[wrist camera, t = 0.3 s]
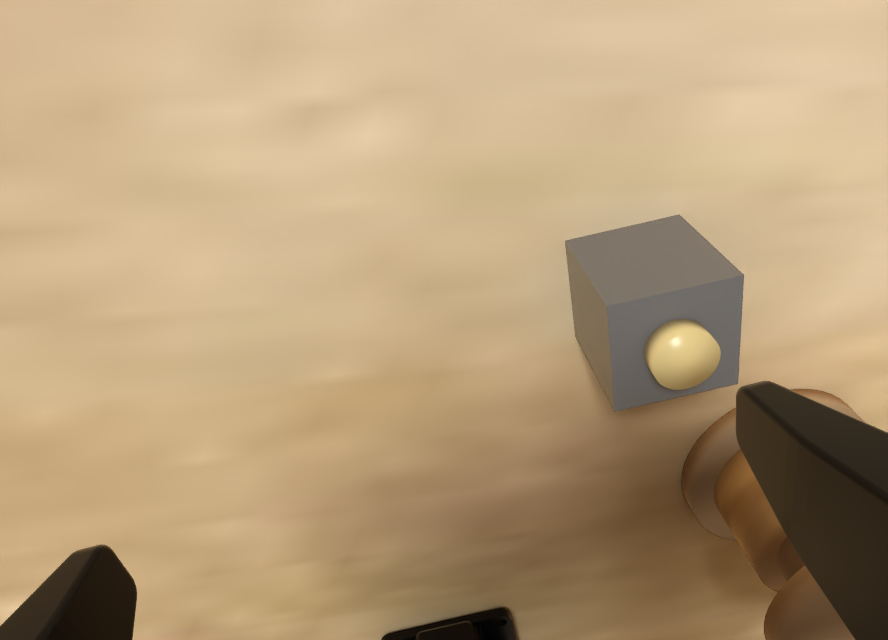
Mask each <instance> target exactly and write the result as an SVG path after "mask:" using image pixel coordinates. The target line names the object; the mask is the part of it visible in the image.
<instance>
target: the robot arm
mask: <svg viewBox="0 0 888 640" xmlns="http://www.w3.org/2000/svg"><path fill="white" fill-rule="evenodd" d="M736 438H737V441H738V444H739V447H740V449H741V451H742V453H743V455H744V457H745V458H746V460H747V462H748V464H749V466H750V468H751V470H752V472H753V474H754V476H755V477H756V479H757V481H758V483H759V485H760V487H761V489H762V491H763V493H764V495H765V497H766V498H767V500H768V502H769V504H770V506H771V508H772V510H773V512H774V514H775V516H776V517H777V519H778V521H779V523H780V525H781V527H782V529H783V531H784V532H785V534H786V536H787V538H788V539H789V541H790V543H791V545H792V546H793V548H794V549H795V551H796V553H797V554H798V556H799V557H800V559H801V560H802V562H803V563H804V565H805V566H806V568H807V569H808V571H809V572H810V574H811V575H812V577H813V578H814V580H815V581H816V582H817V584H818V585H819V587H820V588H821V590H822V591H823V593H824V594H825V596H826V597H827V599H828V600H829V602H830V603H831V605H832V606H833V608H834V609H835V611H836V612H837V613H838V615H839V616H840V618H841V619H842V621H843V622H844V624H845V625H846V627H847V628H848V630H849V631H850V633H851V634H852V636H853V637H854V639H855V640H888V433H887V432H885V431H883V430H880V429H878V428H876V427H874V426H871V425H869V424H867V423H864V422H862V421H860V420H858V419H855V418H853V417H851V416H848V415H846V414H844V413H842V412H839V411H837V410H835V409H833V408H830V407H828V406H826V405H823V404H821V403H819V402H817V401H814V400H812V399H810V398H807V397H805V396H803V395H801V394H798V393H796V392H794V391H791V390H789V389H787V388H785V387H782V386H780V385H778V384H776V383H773V382H770V381H762V382H758V383H754V384H750V385H746V386H743V387H741V388H739V389H738V391H737V395H736ZM136 601H137V590H136V585H135V582H134V580H133V578H132V577H131V575H130V574H129V572H128V571H127V570H126V568H125V567H124V566H123V564H122V563H121V561H120V560H119V559H118V557H117V556H116V554H115V553H114V552H113V550H112V549H111V548H110V547H108V546H106V545H97V546H93V547H89V548H85V549H81V550H78V551H75V552H74V553H72V554H71V555H70V556H69V557H68V558H67V559H66V560H65V561H64V562H63V563H62V564H61V565H60V566H59V567H58V568H57V569H56V570H55V571H54V572H53V573H52V574H51V575H50V576H49V577H48V578H47V579H46V580H45V581H44V582H43V584H42V585H41V586H40V587H39V588H38V589H37V590H36V591H35V592H34V593H33V594H32V595H31V596H30V597H29V598H28V599H27V600H26V601H25V602H24V603H23V604H22V605H21V606H20V607H19V608H18V609H17V610H16V611H15V612H14V613H13V614H12V615H11V616H10V617H9V618H8V619H7V620H6V621H5V622H4V623H3V624H2V625H1V626H0V640H132V638H133V628H134V619H135V610H136ZM381 640H516V636H515V632H514V628H513V624H512V619H511V615H510V612H509V611H508V610H506V609H498V610H493V611H489V612H485V613H480V614H476V615H471V616H467V617H463V618H458V619H454V620H449V621H445V622H441V623H436V624H432V625H428V626H423V627H419V628H414V629H410V630H406V631H401V632H397V633H393V634H388V635H386V636H384V637H383V638H382V639H381Z"/></svg>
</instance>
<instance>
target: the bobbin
mask: <svg viewBox="0 0 888 640" xmlns="http://www.w3.org/2000/svg"><path fill="white" fill-rule="evenodd" d="M791 391H794V392H796V393H798V394H801V395H803V396H805V397H807V398H810V399H812V400H814V401H817V402H819V403H821V404H823V405H826V406H828V407H830V408H833V409H835V410H837V411H839V412H842V413H844V414H846V415H848V416H851V417H853V418H855V419H858V420H860V421H862V422H864V421H863V420H862V419H861V418H860V417H859V416H858V415H857V414H856V413H855V412H854V411H853V410H852V409H851V408H850V407H849V406H848V405H847V404H846V403H845V402H843V401H842V400H841V399H840V398H838V397H836V396H834V395H832V394H829V393H826V392H823V391H818V390H812V389H794V390H791ZM864 423H865V422H864ZM682 490H683V493H684V497H685V499H686V500H687V502H688V504H689V506H690V508H691V509H692V511H693V513H694V515H695V516H696V518H697V520H698V521H699V522H700V524H701V525H702V526H703V527H704V528H705V529H707V530H708V531H709V532H711V533H713V534H715V535H717V536H719V537H722V538H725V539H730V540H735V541H738V543H739V544H740V546H741V548H742V549H743V551H744V553H745V554H746V556H747V558H748V559H749V561H750V562H751V564H752V566H753V567H754V569H755V571H756V572H757V574H758V575H759V577H760V579H761V580H762V581H763V582H764V584H766V585H767V586H768V587H769V588H771V589H773V590H775V591H778V593H777V594H776V596H775V597H774V599H773V601H772V602H771V604H770V606H769V608H768V611H767V613H766V616H765V621H764V635H765V639H766V640H855V639H854V637H853V636H852V634H851V633H850V631H849V630H848V628H847V627H846V625H845V624H844V622H843V621H842V619H841V618H840V616H839V615H838V613H837V612H836V611H835V609H834V608H833V606H832V605H831V603H830V602H829V600H828V599H827V597H826V596H825V594H824V593H823V591H822V590H821V588H820V587H819V585H818V584H817V582H816V581H815V580H814V578H813V577H812V575H811V574H810V572H809V571H808V569H807V568H806V566H805V565H804V563H803V562H802V560H801V559H800V557H799V556H798V554H797V553H796V551H795V549H794V548H793V546H792V545H791V543H790V541H789V539H788V538H787V536H786V534H785V532H784V531H783V529H782V527H781V525H780V523H779V521H778V519H777V517H776V516H775V514H774V512H773V510H772V508H771V506H770V504H769V502H768V500H767V498H766V497H765V495H764V493H763V491H762V489H761V487H760V485H759V483H758V481H757V479H756V477H755V476H754V474H753V472H752V470H751V468H750V466H749V464H748V462H747V460H746V458H745V457H744V455H743V453H742V451H741V449H740V447H739V444H738V441H737V438H736V408H735V409H733V410H732V411H730V412H728V413H727V414H726V415H724V416H723V417H722V418H720V419H719V420H717V421H716V422H715V423H714V424H713V425H712V426H711V427H710V428H708V429H707V431H706V432H705V433H704V434H703V435H702V436H701V437H700V438H699V440H698V441H697V442H696V444H695V445H694V446H693V448H692V450H691V451H690V453H689V455H688V457H687V459H686V462H685V464H684V468H683V472H682Z"/></svg>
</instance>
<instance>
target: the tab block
mask: <svg viewBox="0 0 888 640" xmlns="http://www.w3.org/2000/svg"><path fill="white" fill-rule="evenodd" d="M565 245H566V254H567V263H568V273H569V282H570V291H571V301H572V310H573V319H574V328H575V336H576V338H577V340H578V342H579V344H580V346H581V348H582V350H583V352H584V354H585V356H586V358H587V360H588V361H589V363H590V365H591V367H592V369H593V371H594V373H595V375H596V377H597V379H598V381H599V383H600V385H601V387H602V388H603V390H604V392H605V394H606V396H607V398H608V400H609V402H610V404H611V406H612V408H613V410H614V412H616V411H620V410H624V409H629V408H633V407H638V406H642V405H646V404H651V403H655V402H660V401H664V400H669V399H673V398H677V397H682V396H686V395H691V394H695V393H699V392H704V391H708V390H713V389H717V388H721V387H726V386H730V385H735V384H738V374H739V356H740V338H741V319H742V301H743V283H744V274H742V273H741V272H740V271H739V270H738V269H737V268H736V267H735V266H734V265H733V264H732V263H731V262H730V261H729V260H727V259H726V258H725V257H724V256H723V255H722V254H721V253H720V252H719V251H718V250H717V249H716V248H715V247H714V246H712V245H711V244H710V243H709V242H708V241H707V240H706V239H705V238H704V237H703V236H702V235H701V234H700V233H699V232H697V231H696V230H695V229H694V228H693V227H692V226H691V225H690V224H689V223H688V222H687V221H686V220H685V219H684V218H682V217H681V216H680V215H675V216H671V217H667V218H662V219H658V220H654V221H649V222H645V223H641V224H636V225H632V226H628V227H623V228H619V229H615V230H610V231H606V232H601V233H597V234H593V235H588V236H584V237H580V238H575V239H571V240H567V241H565Z"/></svg>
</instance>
